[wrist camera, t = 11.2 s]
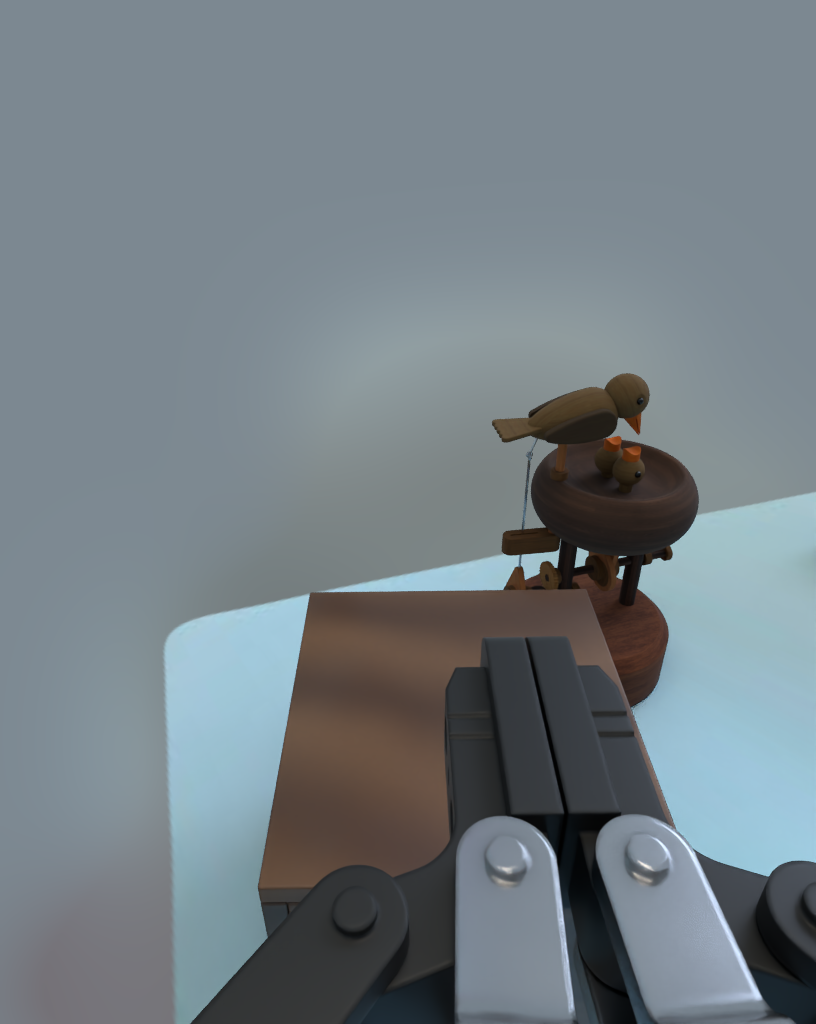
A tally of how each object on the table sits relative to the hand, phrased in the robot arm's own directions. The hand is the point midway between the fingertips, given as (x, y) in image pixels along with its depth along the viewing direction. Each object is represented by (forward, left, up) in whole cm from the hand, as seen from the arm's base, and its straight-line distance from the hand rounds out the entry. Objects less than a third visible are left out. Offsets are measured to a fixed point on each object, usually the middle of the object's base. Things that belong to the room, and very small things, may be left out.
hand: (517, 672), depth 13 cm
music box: (-18, -21, -24) cm, 37 cm away
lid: (-3, -9, -12) cm, 16 cm away
